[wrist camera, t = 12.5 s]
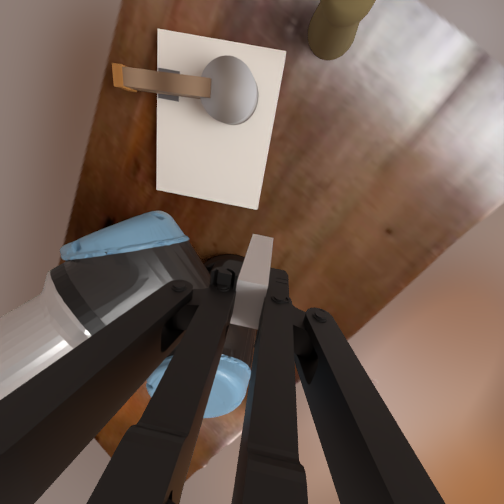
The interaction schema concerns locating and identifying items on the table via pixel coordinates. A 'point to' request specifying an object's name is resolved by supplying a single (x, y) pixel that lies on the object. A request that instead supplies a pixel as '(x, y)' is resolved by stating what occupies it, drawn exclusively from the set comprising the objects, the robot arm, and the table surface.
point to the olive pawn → (336, 26)
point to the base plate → (214, 124)
